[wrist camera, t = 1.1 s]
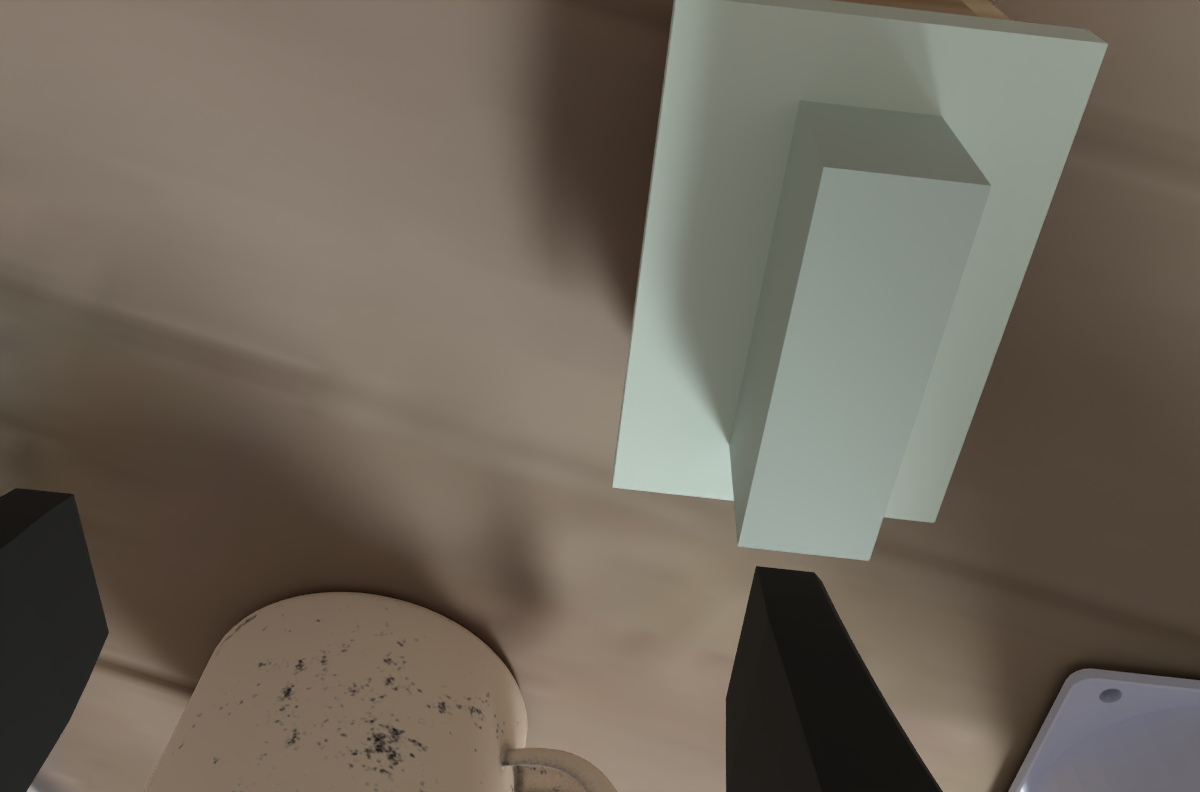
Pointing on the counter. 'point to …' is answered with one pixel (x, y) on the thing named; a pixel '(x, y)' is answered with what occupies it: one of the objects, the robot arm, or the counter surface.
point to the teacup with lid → (359, 708)
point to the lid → (836, 254)
